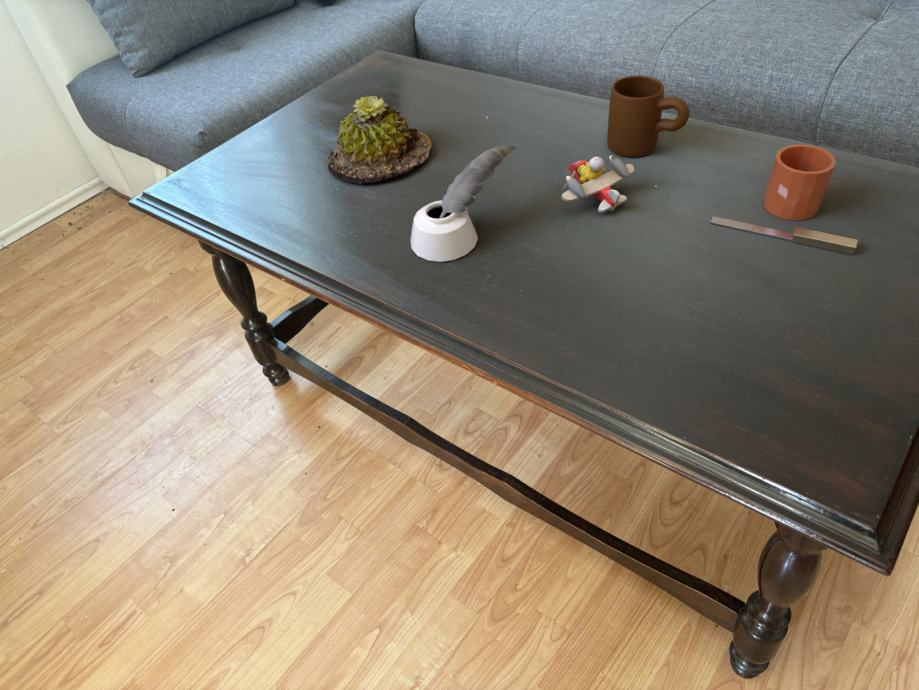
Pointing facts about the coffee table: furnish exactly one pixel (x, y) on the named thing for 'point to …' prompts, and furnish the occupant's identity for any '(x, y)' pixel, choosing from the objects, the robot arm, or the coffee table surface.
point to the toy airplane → (597, 182)
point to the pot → (798, 182)
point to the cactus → (376, 144)
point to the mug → (640, 115)
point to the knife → (795, 236)
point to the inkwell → (454, 212)
